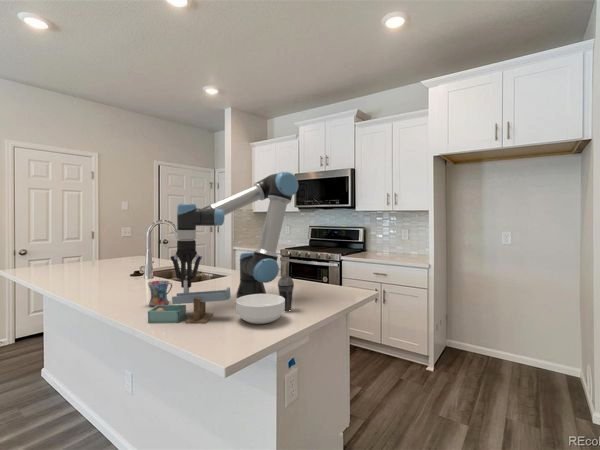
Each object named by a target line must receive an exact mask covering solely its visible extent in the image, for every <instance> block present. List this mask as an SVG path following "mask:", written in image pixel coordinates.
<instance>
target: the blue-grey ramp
mask: <svg viewBox="0 0 600 450" xmlns="http://www.w3.org/2000/svg"><path fill="white" fill-rule="evenodd" d="M194 298H200V302H205V303H210V302H212V303H213V302H223V301H224V302H225V301H229V300H230V298H231V287H230V286H228V287H227V288H226V289H221V290H210V291H209V290H206V291H195V292H194V291H192V292H190V291H189V293H184V292H179V293H176V296H175V295H174V296H172V297H171V301H172V304H171V305H186V304H194Z"/></svg>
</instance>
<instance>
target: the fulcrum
mask: <svg viewBox="0 0 600 450" xmlns="http://www.w3.org/2000/svg"><path fill="white" fill-rule="evenodd" d="M206 309H207V308H206V302H200V298H194V303H193V313H192V314H191V315H190V316H189V317H188V318H187V319H186V320H185V324H207V323H208V321H210V319H211V317H213V315H214V312H207V311H206Z"/></svg>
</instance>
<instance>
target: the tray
mask: <svg viewBox="0 0 600 450" xmlns="http://www.w3.org/2000/svg"><path fill="white" fill-rule="evenodd" d="M158 308H162V309H164V311H156V310H157V309H158ZM186 316H187V305H186V304H166V305H156V306H152V307H151V309H149V310H148V311H147V323H149V324H151V323H152V324H157V323H159V324H160V323H161V324H163V323H164V324H165V323H170V324H171V323H176V324H177V323H180V322H182V320H183V319H185V317H186Z"/></svg>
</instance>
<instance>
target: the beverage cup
mask: <svg viewBox="0 0 600 450" xmlns="http://www.w3.org/2000/svg"><path fill="white" fill-rule="evenodd" d="M283 267H284V275H282V276H281V277H280V278H279V279H278V281H277V282H278V283H277V288H278V295H279V296H282V297H283V298H284V299H285V310H284V311H289V310H292V305H293V304H292V303H293V294H294V293H293V292H294V286H295V284H294V280H293V278H292V277H291V276H289V275H287V273H286V266H285V265H284V266H283ZM289 312H290V311H289Z"/></svg>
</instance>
